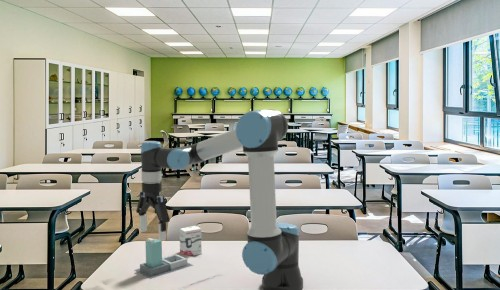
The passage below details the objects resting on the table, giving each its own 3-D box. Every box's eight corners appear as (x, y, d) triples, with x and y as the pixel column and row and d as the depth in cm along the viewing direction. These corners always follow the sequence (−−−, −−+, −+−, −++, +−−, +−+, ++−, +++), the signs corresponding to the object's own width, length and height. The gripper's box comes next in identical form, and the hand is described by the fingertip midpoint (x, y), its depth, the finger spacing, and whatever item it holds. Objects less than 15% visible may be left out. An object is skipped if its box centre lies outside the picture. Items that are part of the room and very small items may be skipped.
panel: (193, 268, 188) (193, 259, 187) (150, 281, 174) (150, 272, 174) (176, 260, 196) (176, 252, 196) (134, 273, 183) (133, 264, 182)
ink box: (184, 257, 200) (183, 231, 198) (179, 254, 204) (179, 228, 202) (202, 254, 204) (201, 228, 203) (196, 250, 208) (196, 225, 207)
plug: (162, 270, 182) (161, 238, 181) (152, 273, 179) (151, 241, 177) (156, 267, 185) (155, 235, 184) (146, 270, 182) (145, 238, 181)
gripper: (178, 185, 172) (179, 240, 174) (143, 176, 190) (144, 226, 192) (161, 187, 167) (162, 245, 169) (126, 178, 185) (128, 230, 187)
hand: (152, 235), depth 181 cm, fingers open, 13 cm apart
